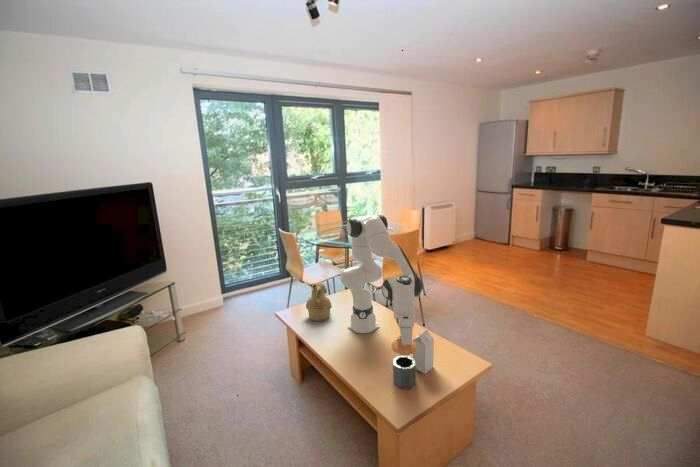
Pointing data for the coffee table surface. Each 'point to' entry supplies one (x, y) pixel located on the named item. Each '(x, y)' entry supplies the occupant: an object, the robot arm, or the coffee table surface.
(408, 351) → the orange cap
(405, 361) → the graphite tube
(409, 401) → the coffee table surface
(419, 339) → the milk carton
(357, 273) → the robot arm
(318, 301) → the ceramic vessel
